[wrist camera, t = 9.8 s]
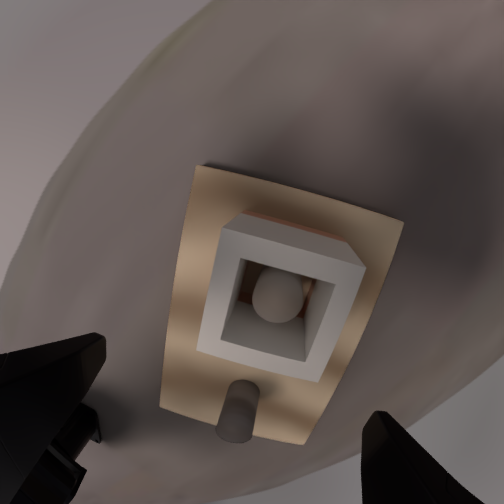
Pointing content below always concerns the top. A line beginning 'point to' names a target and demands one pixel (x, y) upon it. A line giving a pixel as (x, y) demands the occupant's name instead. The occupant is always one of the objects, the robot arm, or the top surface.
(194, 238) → the pin board
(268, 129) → the top surface
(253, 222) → the sleeve
